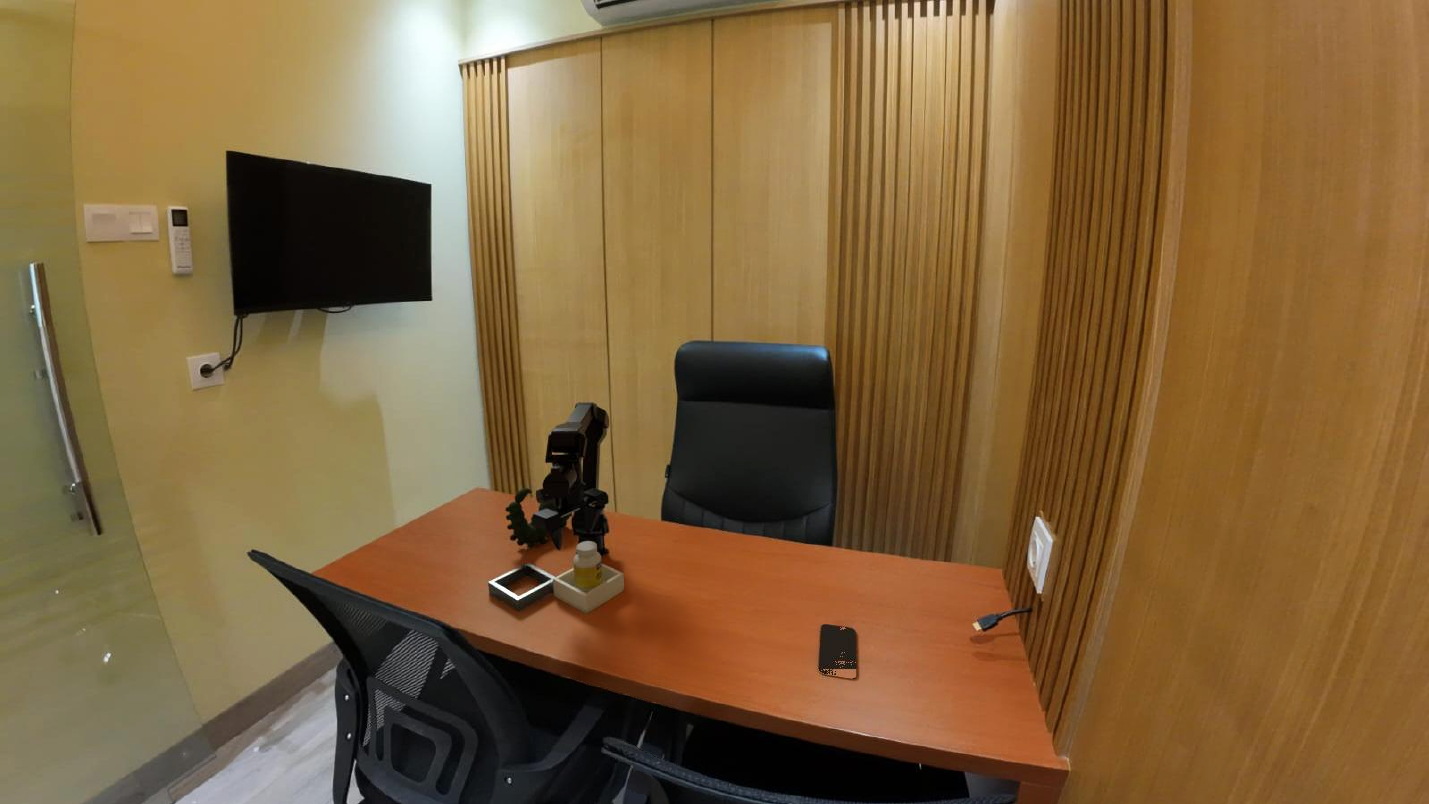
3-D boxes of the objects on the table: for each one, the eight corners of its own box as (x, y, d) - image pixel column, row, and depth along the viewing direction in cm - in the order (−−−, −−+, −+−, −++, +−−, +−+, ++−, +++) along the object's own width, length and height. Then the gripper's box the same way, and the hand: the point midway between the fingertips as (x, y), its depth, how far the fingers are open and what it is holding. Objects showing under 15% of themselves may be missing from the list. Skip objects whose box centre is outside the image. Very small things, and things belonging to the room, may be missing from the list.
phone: (817, 672, 102) (820, 623, 117) (817, 675, 103) (820, 626, 117) (857, 678, 101) (855, 628, 115) (857, 682, 101) (855, 631, 115)
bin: (592, 574, 136) (591, 558, 135) (624, 590, 129) (623, 573, 128) (554, 595, 127) (552, 578, 126) (586, 614, 120) (585, 596, 119)
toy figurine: (532, 564, 144) (586, 518, 166) (522, 501, 138) (579, 462, 160) (504, 557, 147) (561, 513, 169) (493, 496, 141) (553, 458, 163)
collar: (529, 573, 136) (528, 562, 136) (558, 589, 129) (558, 578, 129) (489, 593, 128) (487, 582, 127) (518, 611, 121) (517, 600, 120)
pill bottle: (596, 599, 124) (594, 554, 121) (570, 596, 125) (567, 551, 123) (607, 583, 130) (604, 540, 128) (582, 580, 132) (579, 537, 129)
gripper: (577, 461, 135) (581, 517, 139) (513, 485, 121) (519, 547, 125) (608, 470, 129) (611, 529, 133) (545, 497, 114) (550, 562, 118)
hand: (574, 541), depth 127 cm, fingers open, 9 cm apart
